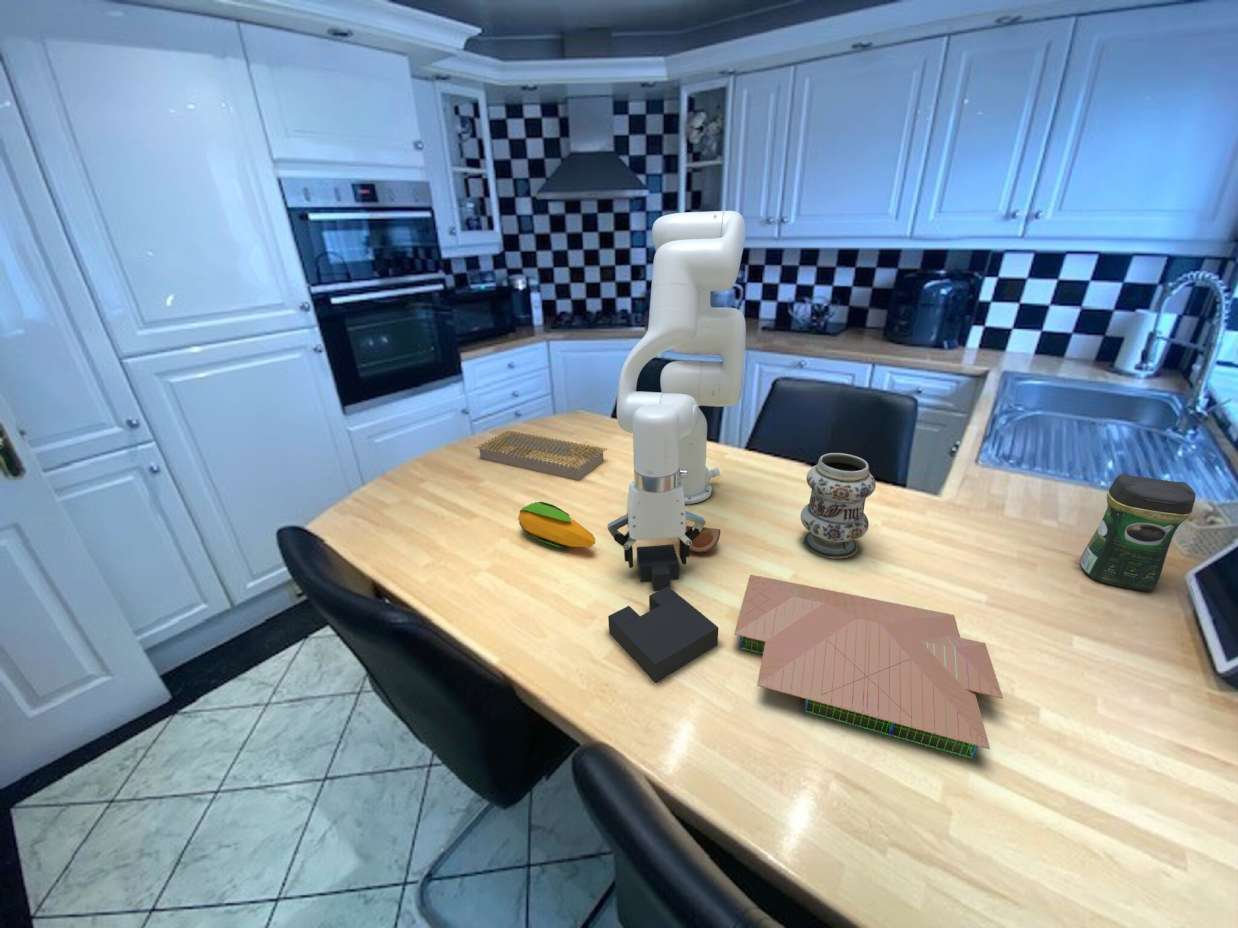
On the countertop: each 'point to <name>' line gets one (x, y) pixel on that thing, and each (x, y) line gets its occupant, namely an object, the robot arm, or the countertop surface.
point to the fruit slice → (704, 539)
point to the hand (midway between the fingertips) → (656, 561)
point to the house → (869, 659)
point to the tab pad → (658, 565)
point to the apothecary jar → (837, 505)
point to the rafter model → (542, 444)
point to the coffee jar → (1137, 531)
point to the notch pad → (663, 633)
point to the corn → (553, 526)
